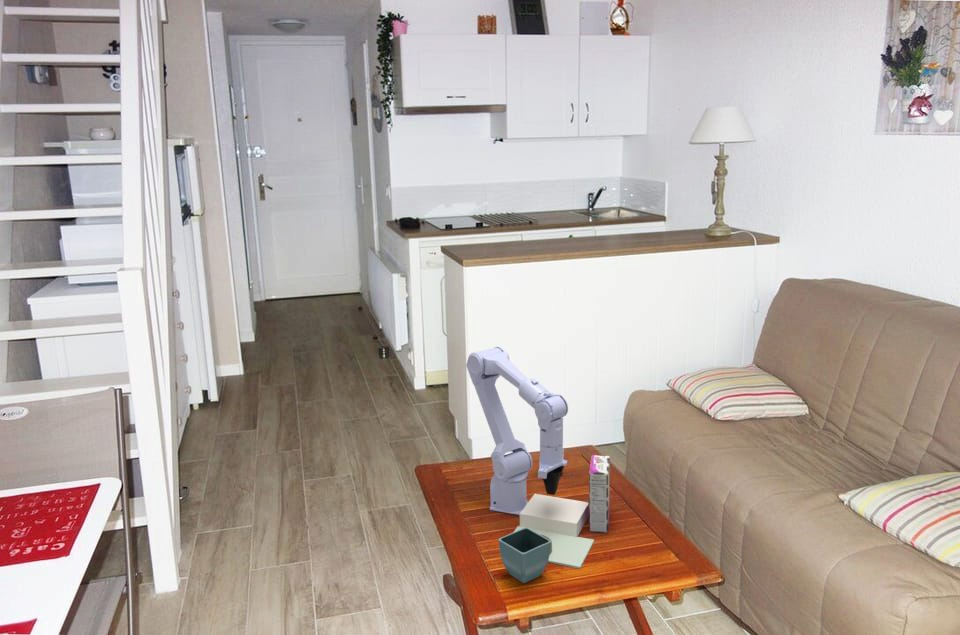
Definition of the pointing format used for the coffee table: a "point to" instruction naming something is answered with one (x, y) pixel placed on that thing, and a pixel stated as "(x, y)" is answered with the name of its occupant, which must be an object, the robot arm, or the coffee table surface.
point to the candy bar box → (599, 493)
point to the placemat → (566, 548)
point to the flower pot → (524, 554)
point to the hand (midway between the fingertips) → (551, 493)
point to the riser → (555, 514)
